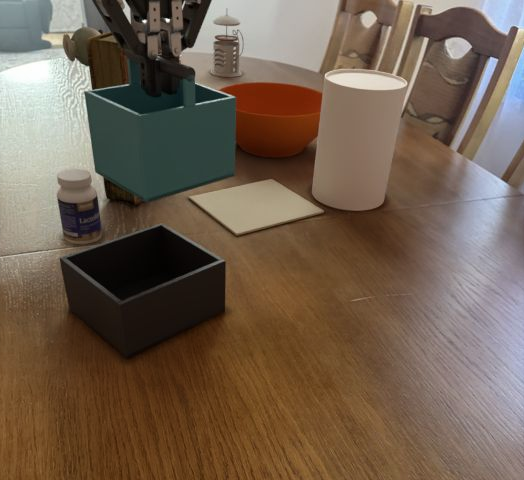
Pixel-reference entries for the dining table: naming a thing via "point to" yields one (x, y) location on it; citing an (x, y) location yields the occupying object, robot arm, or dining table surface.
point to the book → (109, 75)
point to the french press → (226, 49)
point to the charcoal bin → (144, 287)
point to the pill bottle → (78, 207)
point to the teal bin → (162, 134)
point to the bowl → (275, 117)
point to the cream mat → (255, 206)
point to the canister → (357, 137)
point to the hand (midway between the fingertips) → (160, 93)
